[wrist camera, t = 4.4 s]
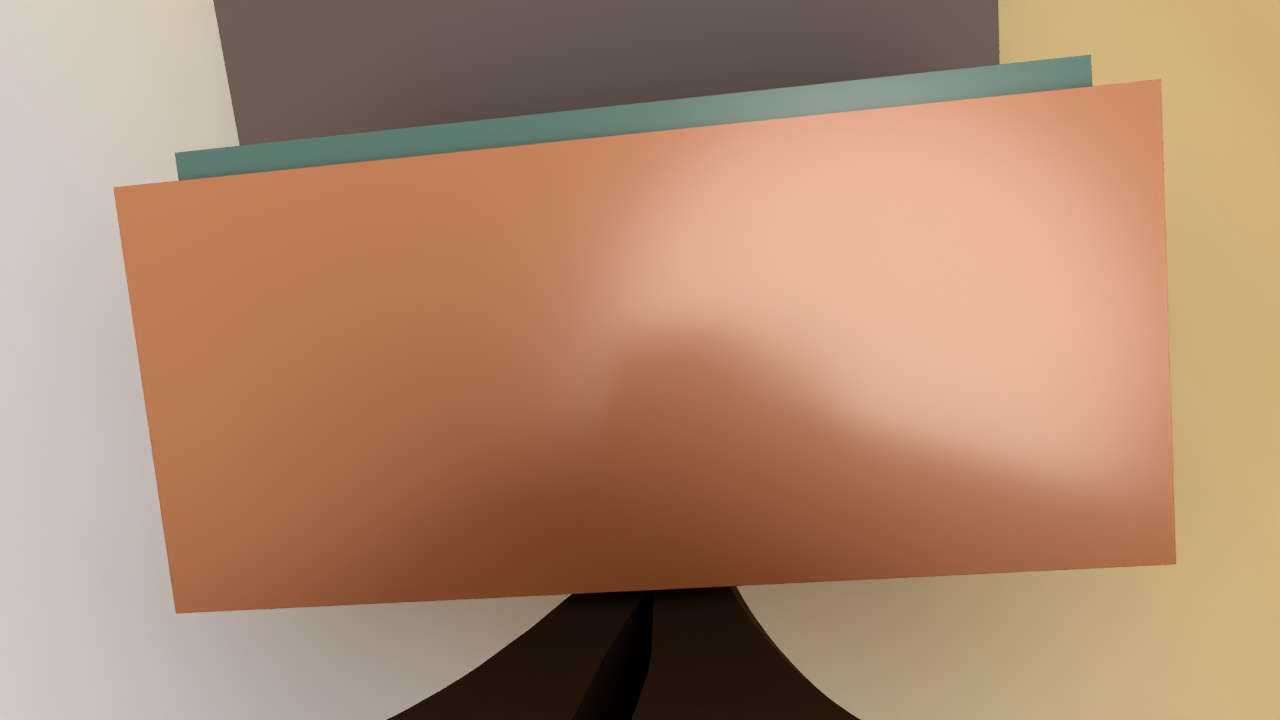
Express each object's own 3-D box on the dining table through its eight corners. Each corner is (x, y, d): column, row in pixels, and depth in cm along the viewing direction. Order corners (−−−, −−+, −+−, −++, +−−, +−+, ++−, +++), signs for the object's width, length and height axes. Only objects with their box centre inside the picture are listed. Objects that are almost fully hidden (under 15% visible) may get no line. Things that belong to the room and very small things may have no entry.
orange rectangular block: (974, 405, 16) (1176, 564, 9) (435, 442, 18) (175, 613, 10) (960, 134, 16) (1159, 40, 8) (406, 189, 17) (108, 154, 9)
